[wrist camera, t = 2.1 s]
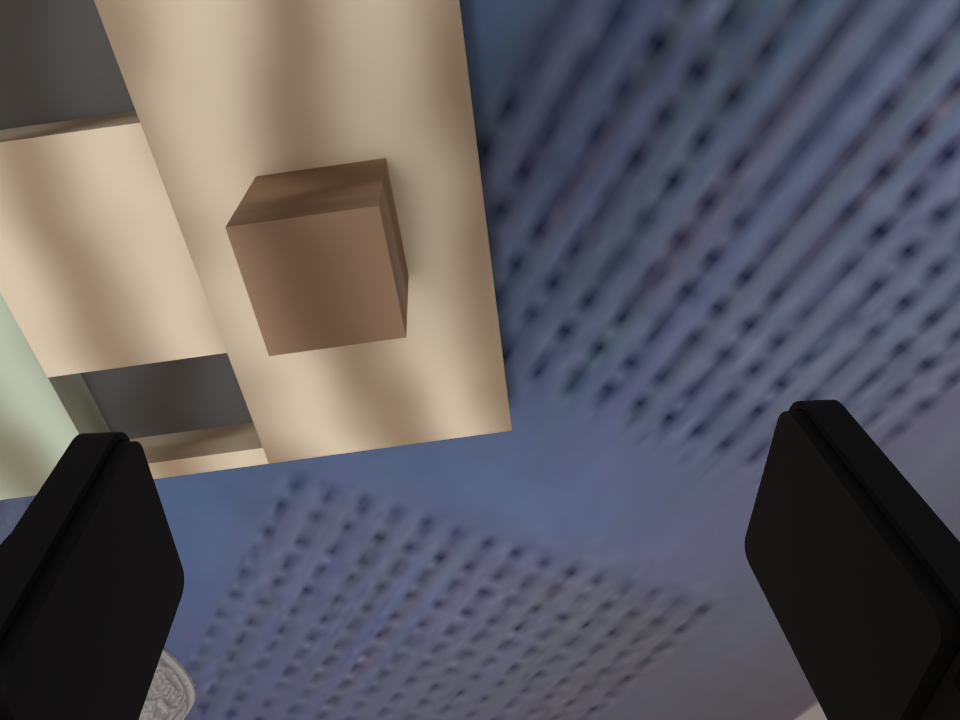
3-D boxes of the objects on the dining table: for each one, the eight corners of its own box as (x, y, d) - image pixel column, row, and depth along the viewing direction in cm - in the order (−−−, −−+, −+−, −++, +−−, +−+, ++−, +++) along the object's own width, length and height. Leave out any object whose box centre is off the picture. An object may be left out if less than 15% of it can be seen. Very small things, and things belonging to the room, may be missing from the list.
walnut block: (386, 158, 27) (379, 205, 23) (408, 275, 30) (406, 337, 26) (255, 176, 27) (225, 227, 23) (290, 292, 30) (268, 356, 26)
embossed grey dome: (-163, 500, 37) (-261, 618, 32) (258, 651, 48) (236, 756, 43) (-228, 624, 44) (-317, 737, 39) (153, 731, 55) (123, 829, 50)
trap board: (440, -140, 24) (441, -144, 22) (506, 400, 37) (511, 430, 35) (-368, -24, 24) (-442, -16, 22) (-26, 472, 37) (-53, 507, 35)
